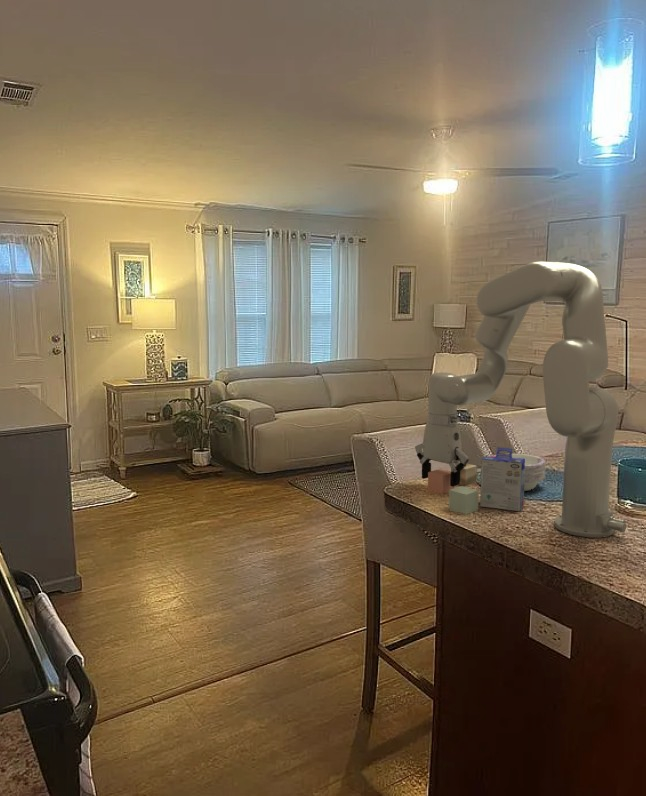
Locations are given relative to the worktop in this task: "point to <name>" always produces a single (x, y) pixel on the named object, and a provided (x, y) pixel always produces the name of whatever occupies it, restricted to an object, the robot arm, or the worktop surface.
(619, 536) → the worktop surface
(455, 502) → the sage block
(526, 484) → the paper bowls
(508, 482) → the ink cartridge box
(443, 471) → the coral block
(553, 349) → the robot arm
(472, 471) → the maple block
